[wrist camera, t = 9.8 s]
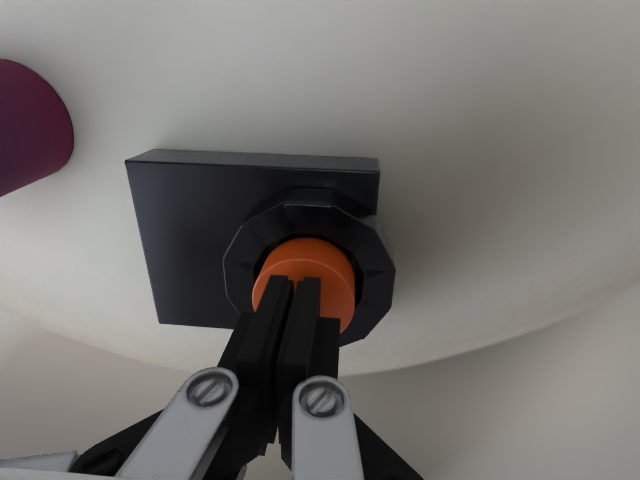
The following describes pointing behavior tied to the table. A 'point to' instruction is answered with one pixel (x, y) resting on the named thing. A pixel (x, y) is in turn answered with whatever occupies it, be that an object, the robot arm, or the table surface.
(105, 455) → the robot arm
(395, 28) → the table surface
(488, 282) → the table surface
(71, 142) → the cup
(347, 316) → the button
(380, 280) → the button box
